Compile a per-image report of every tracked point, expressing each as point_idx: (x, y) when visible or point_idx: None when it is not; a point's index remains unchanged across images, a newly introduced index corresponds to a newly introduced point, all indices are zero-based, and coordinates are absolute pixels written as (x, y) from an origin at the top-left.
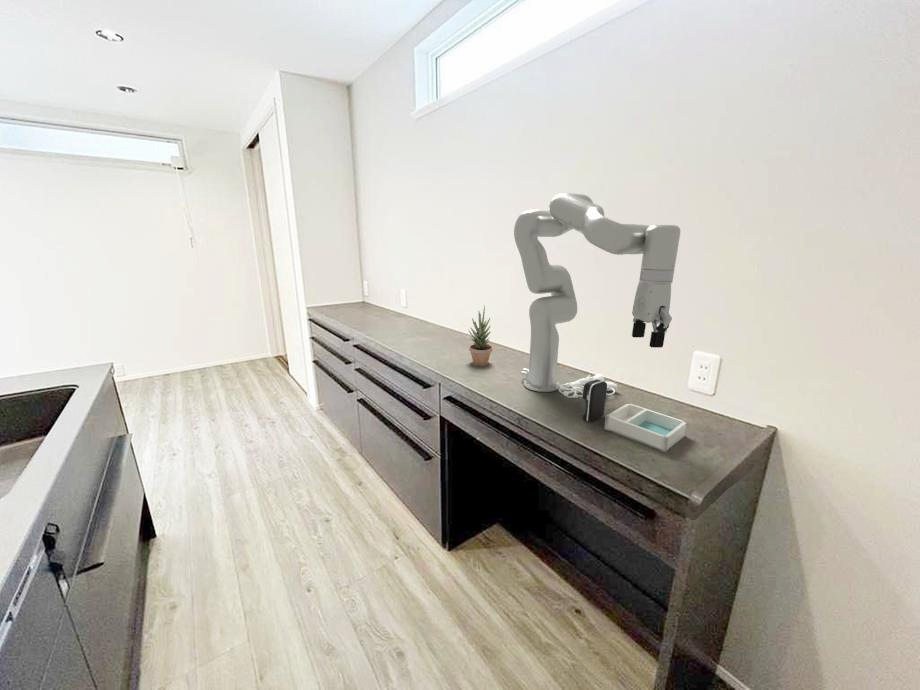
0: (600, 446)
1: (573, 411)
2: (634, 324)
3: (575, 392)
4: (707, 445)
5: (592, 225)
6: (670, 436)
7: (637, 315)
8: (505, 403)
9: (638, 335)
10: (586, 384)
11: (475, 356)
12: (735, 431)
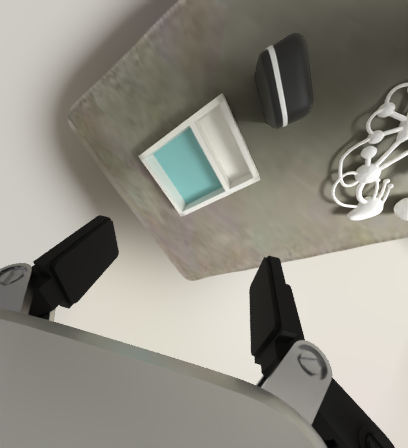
0: (166, 45)
1: (318, 60)
2: (280, 320)
3: (397, 114)
4: (165, 214)
5: None
6: (147, 167)
7: (147, 406)
8: None
9: (257, 278)
10: (294, 37)
11: None
12: (190, 259)
